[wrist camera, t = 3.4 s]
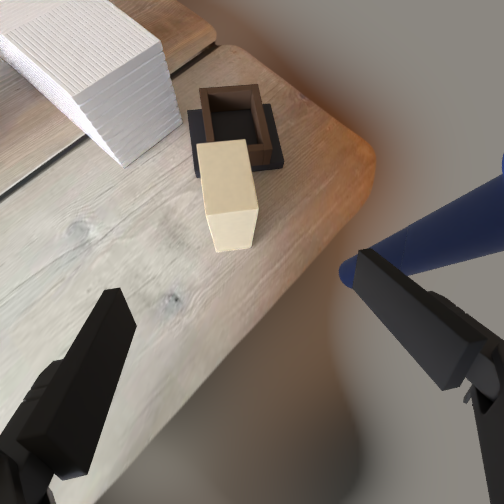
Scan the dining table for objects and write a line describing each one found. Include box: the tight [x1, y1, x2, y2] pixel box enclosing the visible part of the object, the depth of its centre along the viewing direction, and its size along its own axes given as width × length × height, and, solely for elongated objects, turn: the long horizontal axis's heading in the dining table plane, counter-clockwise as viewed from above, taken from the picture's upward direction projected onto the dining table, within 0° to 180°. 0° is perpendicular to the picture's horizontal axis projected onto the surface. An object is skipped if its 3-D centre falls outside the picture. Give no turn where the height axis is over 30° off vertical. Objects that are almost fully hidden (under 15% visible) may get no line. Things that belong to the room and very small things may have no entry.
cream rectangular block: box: [197, 139, 259, 253], centre depth 26 cm, size 4×7×11 cm, turn 10°
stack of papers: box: [0, 0, 183, 168], centre depth 31 cm, size 32×11×11 cm, turn 48°
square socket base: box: [187, 84, 284, 178], centre depth 32 cm, size 12×10×4 cm
